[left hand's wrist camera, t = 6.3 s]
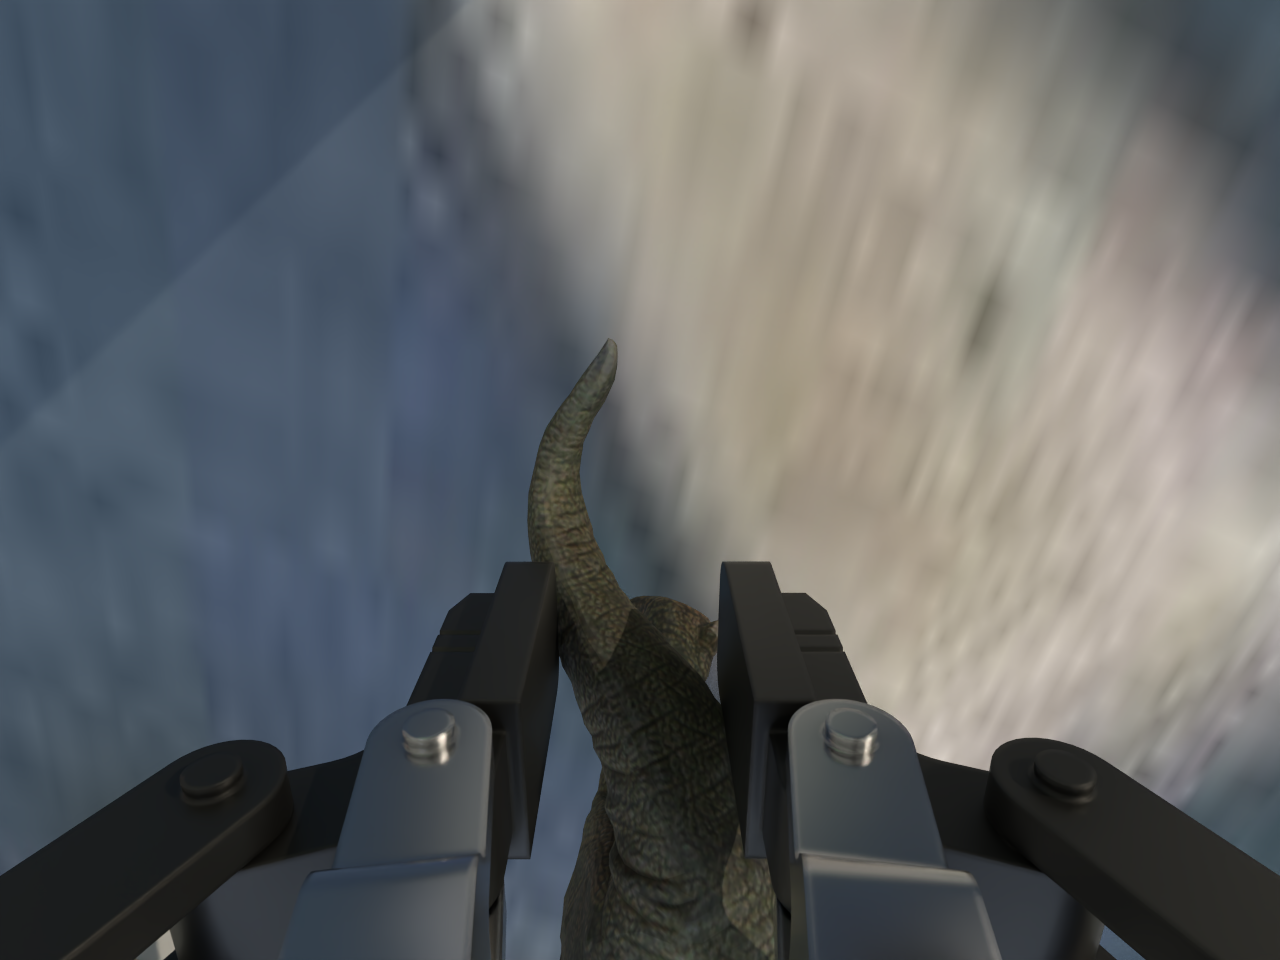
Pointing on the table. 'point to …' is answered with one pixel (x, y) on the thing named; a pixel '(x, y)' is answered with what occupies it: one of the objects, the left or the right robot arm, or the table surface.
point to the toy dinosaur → (642, 741)
